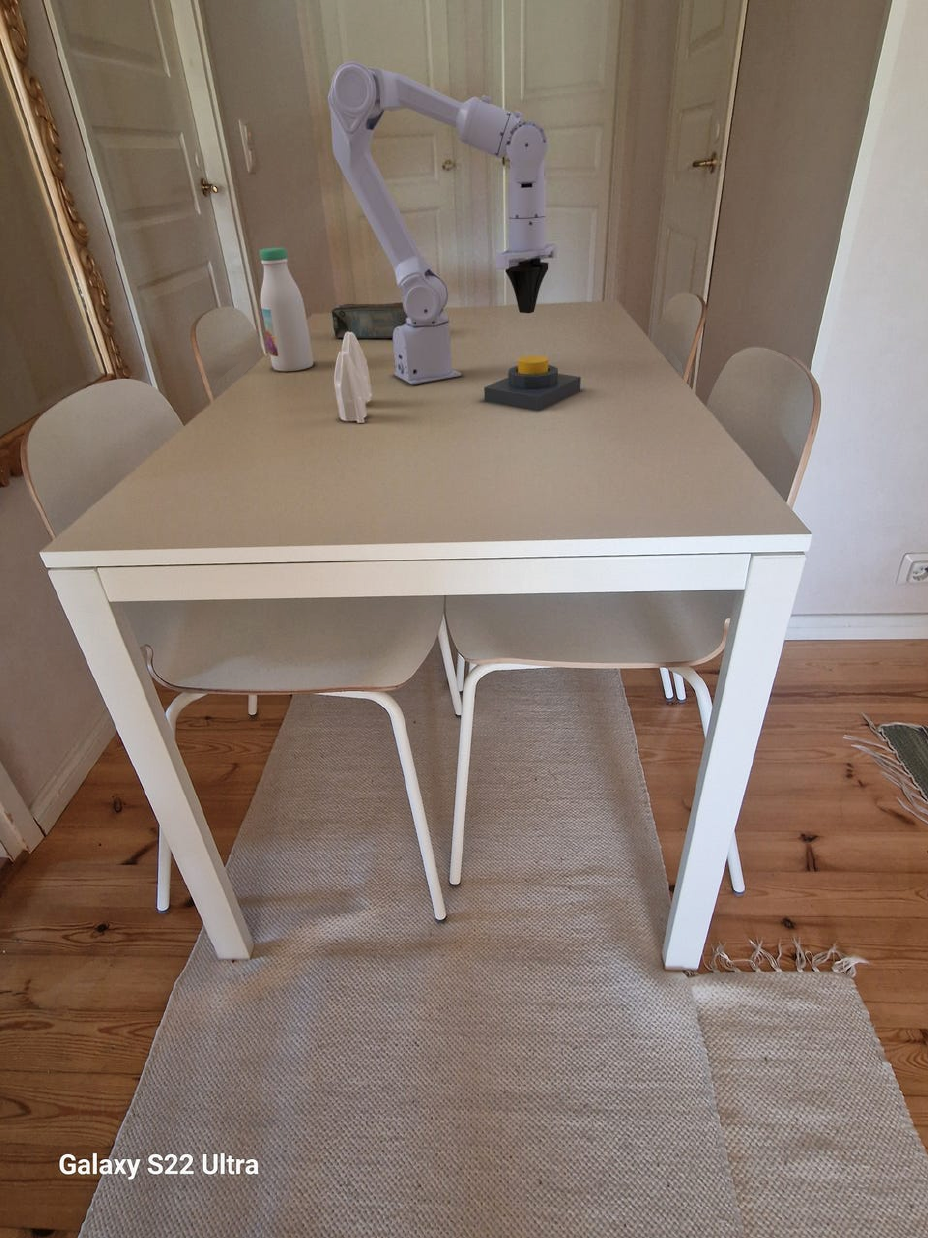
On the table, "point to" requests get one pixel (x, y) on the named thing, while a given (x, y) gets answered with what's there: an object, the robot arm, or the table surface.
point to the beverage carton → (368, 319)
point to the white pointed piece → (352, 381)
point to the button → (533, 364)
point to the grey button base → (532, 389)
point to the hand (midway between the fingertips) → (526, 312)
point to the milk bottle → (283, 314)
